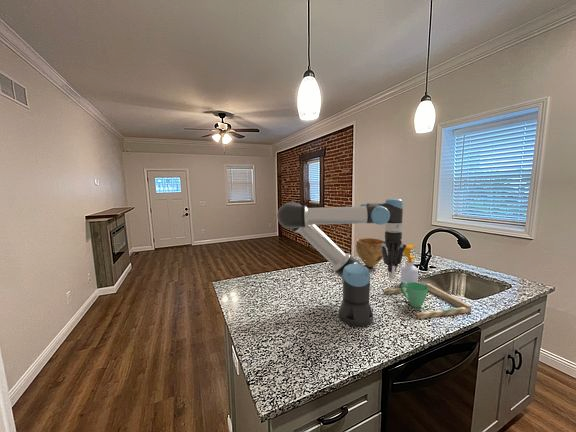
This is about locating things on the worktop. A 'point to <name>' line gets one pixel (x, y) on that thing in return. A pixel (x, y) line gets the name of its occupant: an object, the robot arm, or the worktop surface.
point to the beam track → (447, 311)
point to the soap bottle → (409, 267)
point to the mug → (414, 293)
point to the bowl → (369, 250)
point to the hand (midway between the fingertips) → (391, 278)
